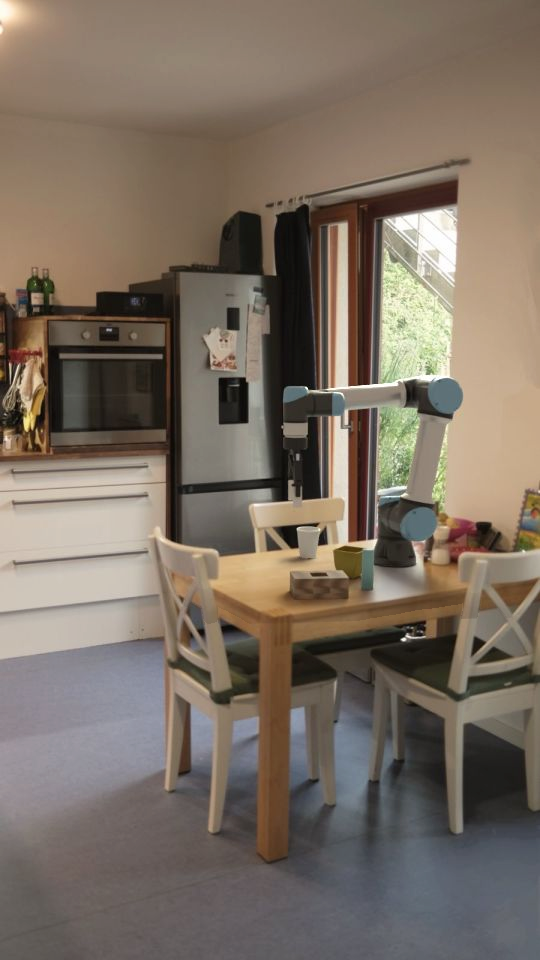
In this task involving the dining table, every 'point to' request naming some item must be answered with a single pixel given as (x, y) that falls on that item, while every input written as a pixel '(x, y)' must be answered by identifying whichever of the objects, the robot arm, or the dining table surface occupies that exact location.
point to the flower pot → (348, 560)
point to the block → (319, 584)
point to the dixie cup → (308, 541)
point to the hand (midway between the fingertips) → (294, 503)
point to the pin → (367, 569)
